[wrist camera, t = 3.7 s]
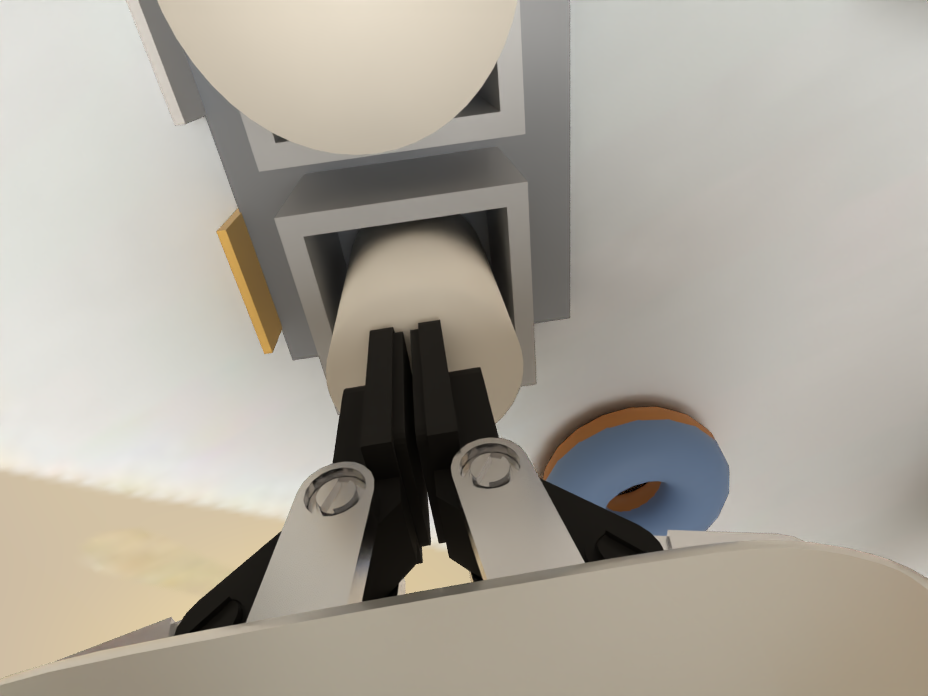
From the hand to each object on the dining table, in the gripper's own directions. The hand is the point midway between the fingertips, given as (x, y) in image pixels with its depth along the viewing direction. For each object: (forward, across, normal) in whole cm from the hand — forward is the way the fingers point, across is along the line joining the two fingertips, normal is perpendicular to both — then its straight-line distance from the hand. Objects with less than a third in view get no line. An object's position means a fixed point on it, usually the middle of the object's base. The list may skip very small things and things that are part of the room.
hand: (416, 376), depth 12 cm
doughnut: (+10, -10, +15) cm, 20 cm away
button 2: (+7, 0, 0) cm, 7 cm away
